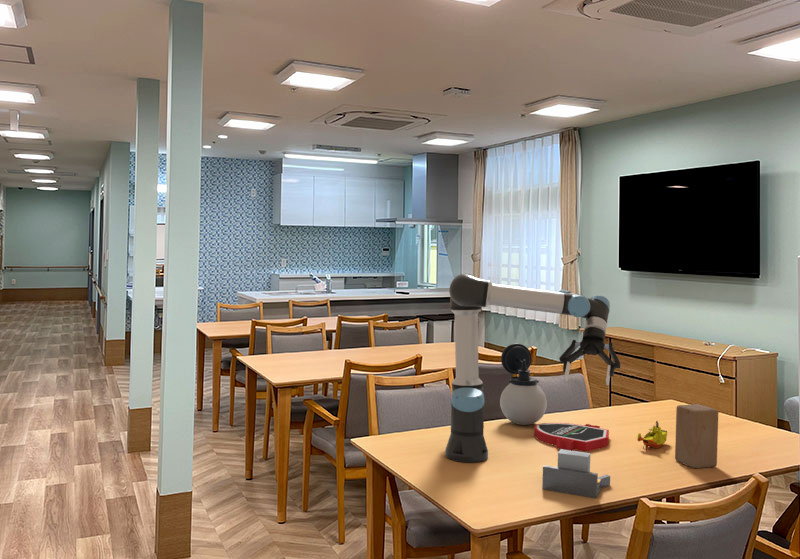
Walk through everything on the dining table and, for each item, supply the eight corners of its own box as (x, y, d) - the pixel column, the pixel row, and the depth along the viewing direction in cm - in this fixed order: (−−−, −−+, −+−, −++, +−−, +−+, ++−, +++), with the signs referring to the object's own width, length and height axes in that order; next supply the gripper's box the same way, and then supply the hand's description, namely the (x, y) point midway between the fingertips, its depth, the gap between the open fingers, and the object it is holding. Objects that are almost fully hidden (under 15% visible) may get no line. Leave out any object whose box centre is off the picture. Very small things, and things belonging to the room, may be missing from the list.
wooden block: (693, 469, 218) (695, 411, 217) (673, 460, 227) (675, 404, 227) (718, 467, 220) (719, 409, 220) (697, 458, 230) (699, 403, 229)
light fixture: (505, 430, 264) (507, 350, 264) (493, 416, 287) (494, 343, 286) (552, 430, 266) (554, 350, 265) (536, 416, 289) (537, 343, 288)
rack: (546, 474, 210) (546, 453, 210) (610, 484, 201) (610, 462, 201) (535, 488, 197) (536, 465, 197) (603, 499, 188) (604, 476, 188)
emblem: (550, 417, 274) (620, 429, 256) (550, 426, 274) (620, 439, 256) (517, 431, 250) (593, 446, 231) (517, 441, 250) (592, 456, 231)
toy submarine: (636, 450, 240) (636, 423, 239) (656, 441, 252) (657, 416, 252) (653, 454, 235) (653, 427, 235) (673, 444, 248) (674, 419, 248)
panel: (560, 483, 201) (560, 449, 201) (589, 488, 197) (590, 453, 197) (557, 488, 197) (557, 452, 197) (587, 493, 193) (588, 457, 193)
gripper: (632, 341, 226) (625, 391, 213) (560, 337, 237) (550, 384, 224) (630, 328, 221) (624, 378, 208) (557, 323, 232) (547, 371, 219)
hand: (586, 381), depth 216 cm, fingers open, 13 cm apart
